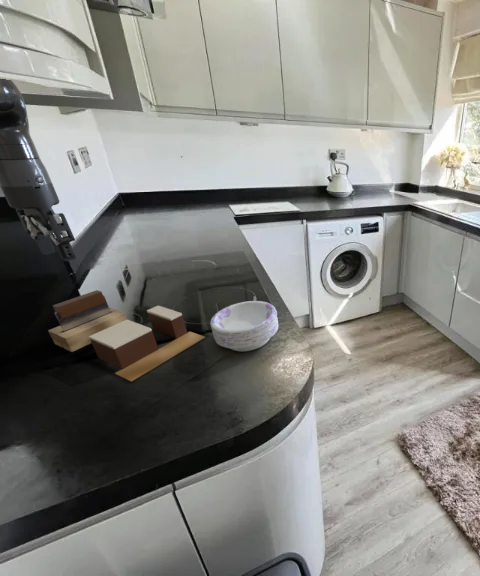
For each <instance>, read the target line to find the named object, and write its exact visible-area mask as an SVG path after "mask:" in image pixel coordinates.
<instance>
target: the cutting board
mask: <svg viewBox="0 0 480 576" xmlns="http://www.w3.org/2000/svg"><path fill="white" fill-rule="evenodd" d="M205 338H206V336H204V335H202V334H198V333H195V332H192V331H187V333H186V334H185V335H183V336H181V337H179V338H177V339H176V338H174V339H172V341H170V342H167V343H166V344H164V345H163V346H161V347H158V350H157V351H155V352H153V353H151V354H149V355H148V356H146V357H144V358H142V359H140V360H139V361H137V362H135V363H133V364H131V365H130V366H128V367H126V368H124V369H121V368H120V369H119V370H118V371H116V372H114V375H117V376H119V377H121V378H123V379H125V380H127V381H129V382H133V381H135V380H137V379H138V378H140V377H142V376H143V375H145V374H147V373H148V372H150V371H152V370H153V369H155V368H157V367H158V366H160V365H161V364H163V363H165V362H166V361H169V360H170V359H172V358H173V357H175V356H176V355H179V354H180V353H181V352H182V353H183V352H184V351H185V350H186V349H188V348H190V347H191V346H194V345H195V344H197V343H199V342H200V341H201V340H203V339H205Z"/></svg>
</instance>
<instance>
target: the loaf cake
mask: <svg viewBox="0 0 480 576" xmlns="http://www.w3.org/2000/svg"><path fill="white" fill-rule="evenodd" d="M89 338H90V340H91V343H90V344H91V345H92V347H93V350H94V352H95V353H96V356H97V358H98V359H100V360H102V361H104V362H106V363H109V364H111V365H113V366H115V367H117V368H119V369H120V370H121V369H124V368H126V367H128V366H130V365H131V364H133V363H135V362H137V361H139V360H140V359H142V358H144V357H146V356H148V355H149V354H151V353H153V352H155V351H157V350H158V349H159V346H158V343H157V341H156V338H155V336H154V332H153V328H151V327H148V326H145V325H143V324H141V323H138V322H136V321H132V320H129V319H127V320H125V321H123V322H120V323H118V324H116V325H114V326H111V327H109V328H107V329H104V330H102V331H100V332H98V333H95V334H93V335H91V336H89Z"/></svg>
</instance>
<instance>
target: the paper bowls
mask: <svg viewBox="0 0 480 576" xmlns="http://www.w3.org/2000/svg"><path fill="white" fill-rule="evenodd" d="M277 312H278V311H277V309H276V307H275V306H274V305H273V304H271V303H269V302H267V301H261V300H249V301H242V302H241V301H240V302H237V303H233V304H230V305H228V306H226V307H223V308H222V309H220V310H219V311H217V312H216V313H215V314H214V315H213V316H212V317H211V319H210V322H209V324H210V327H211V332H212V337H213V339H214V341H215V344H217V345H218V346H221V347H223V348H226V349H231V350H232V351H234V352H235V351H236V352H250V351H254V350H256V349H257V350H258V349H259V348H261V347H264V345H266V344H267V343H268V342H269V340H270V339H271V338H272V337H274V335H275V334H276V333H277V332H278V330H279V320H278V313H277Z"/></svg>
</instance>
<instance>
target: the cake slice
mask: <svg viewBox="0 0 480 576" xmlns="http://www.w3.org/2000/svg"><path fill="white" fill-rule="evenodd" d="M146 313H147V316H148V318H149V321H150V324H151V327H152V331H155V332H157V333H161V334H163V335H166V336H168V337H171V338H174V339H177V338H179V337H181V336H183V335H185V334H186V333H188V330H187V327H186V323H185V320H184V317H183V314H182V312H179V311H176V310H174V309H171V308H168V307H164V306H161V305H156V306H153V307H151V308H149V309H147V310H146Z"/></svg>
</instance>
